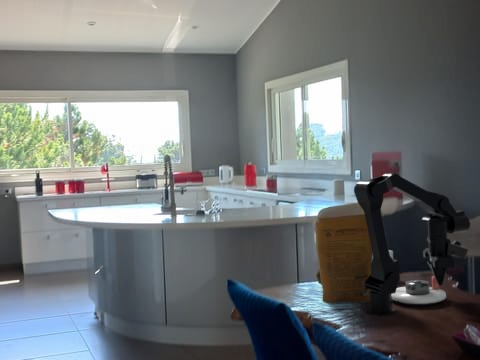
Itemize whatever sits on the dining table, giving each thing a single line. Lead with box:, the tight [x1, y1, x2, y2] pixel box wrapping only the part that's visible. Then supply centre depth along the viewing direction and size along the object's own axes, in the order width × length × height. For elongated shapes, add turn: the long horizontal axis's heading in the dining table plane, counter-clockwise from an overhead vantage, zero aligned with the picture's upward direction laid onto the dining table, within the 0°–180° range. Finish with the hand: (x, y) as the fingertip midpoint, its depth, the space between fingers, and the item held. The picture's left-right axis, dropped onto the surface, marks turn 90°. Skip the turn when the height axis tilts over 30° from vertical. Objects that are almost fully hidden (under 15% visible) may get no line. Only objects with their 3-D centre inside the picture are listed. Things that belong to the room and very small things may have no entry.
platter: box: [391, 275, 447, 304], centre depth 177 cm, size 17×17×5 cm
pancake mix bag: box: [314, 213, 373, 304], centre depth 180 cm, size 7×19×28 cm, turn 84°
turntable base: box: [399, 302, 438, 307], centre depth 177 cm, size 12×12×1 cm
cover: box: [404, 279, 430, 295], centre depth 177 cm, size 7×7×4 cm
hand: (440, 285), depth 175 cm, fingers closed
